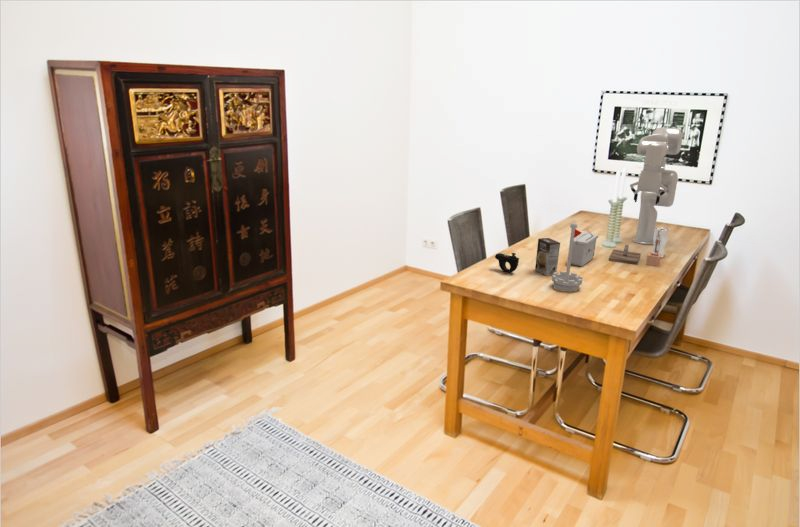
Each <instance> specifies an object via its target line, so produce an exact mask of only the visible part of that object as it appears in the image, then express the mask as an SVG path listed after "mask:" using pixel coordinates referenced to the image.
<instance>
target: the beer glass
mask: <svg viewBox="0 0 800 527" xmlns="http://www.w3.org/2000/svg"><path fill="white" fill-rule="evenodd" d="M669 231H670V229H669V228H665V227H655V231H654V237H653V244H652V245H653V247H652V248H653V249H652V251H651V253H656V254H661V257H662V258H664V254H665V252H664V250H665V248H666V245H667V242H668V237H669V233H670V232H669Z"/></svg>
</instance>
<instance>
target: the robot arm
mask: <svg viewBox="0 0 800 527" xmlns="http://www.w3.org/2000/svg"><path fill="white" fill-rule="evenodd" d="M682 142H683V133H682V130H681V129H680V128H677V127H675V128H674V127H658V128H656V129H654V131H652V134H650V135H646V136H642V137H641V138H640V139H639V142H638V143H637V147H636V152H637V154H638V156H641V157H644V162H643V169H642V170H640V174H639V176H638V181H636V182H634V183H631V184H630V185H629V187H630V190H631V191H632V193H633V196H634V197H633V201H634V203H637V202H638V195H639V192H640V207H639V213H638V219H637V220H638V221H637V226H636V234H635V236H634V237H633V238H632V242H634V243H636V244H641V245H649V246H650V245H653V237H654V232H655V228H656V225H657V219H658V211H657V209H656V207H657V206H658V207H663V208H668V207H669V208H670V207H672V206H673V204H674V201H675V196H676V190H677V184H678V180H679V179H678V178H679V177H678V173H677V171H675V170H672V169H671V170H668V169H665V167H666V163H667V162H666V158H665V157H666V155H672V156H673V155H675V156H676V155H678V154H679V153H680V152H681V149H682ZM635 186H636V187H637V189H635V188H634V187H635ZM655 206H656V207H655Z"/></svg>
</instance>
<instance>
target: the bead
mask: <svg viewBox="0 0 800 527" xmlns="http://www.w3.org/2000/svg"><path fill="white" fill-rule="evenodd" d="M646 257H647V258H646V264H645V265H647V266H651V265H653V266H652V267H658V266H659V267H660V265H661V254H656V253H652V252H648V254H647V256H646Z"/></svg>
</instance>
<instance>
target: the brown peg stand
mask: <svg viewBox="0 0 800 527" xmlns="http://www.w3.org/2000/svg"><path fill="white" fill-rule="evenodd" d="M623 248H624V249H623V250H622V249H621V250H620V249H612V251H611V253H610V255H609V256H608V260H609V261H611V262H614V263H623V264H628V265H635V266H637V265H638V264H639V261H640V259H641V256H642V253H640V252H635V251H629V244H625V245H624V247H623ZM609 261H608V262H609Z"/></svg>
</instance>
